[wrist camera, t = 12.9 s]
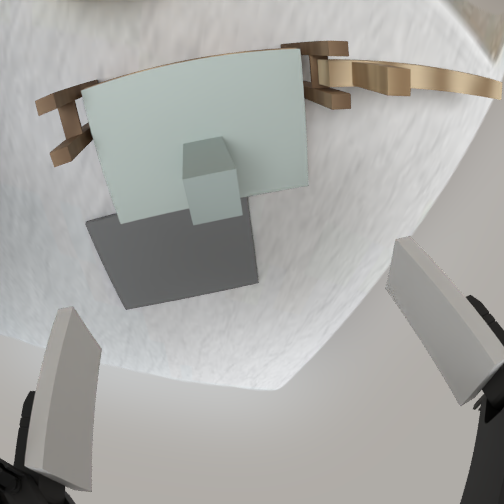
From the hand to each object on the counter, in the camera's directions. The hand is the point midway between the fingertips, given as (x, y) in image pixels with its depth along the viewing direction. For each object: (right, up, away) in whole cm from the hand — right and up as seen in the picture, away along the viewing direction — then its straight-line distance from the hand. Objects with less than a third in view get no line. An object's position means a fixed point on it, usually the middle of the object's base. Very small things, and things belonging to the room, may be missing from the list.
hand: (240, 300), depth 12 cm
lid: (-4, +12, +13) cm, 18 cm away
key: (+17, +19, +11) cm, 28 cm away
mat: (-9, +2, +28) cm, 30 cm away
